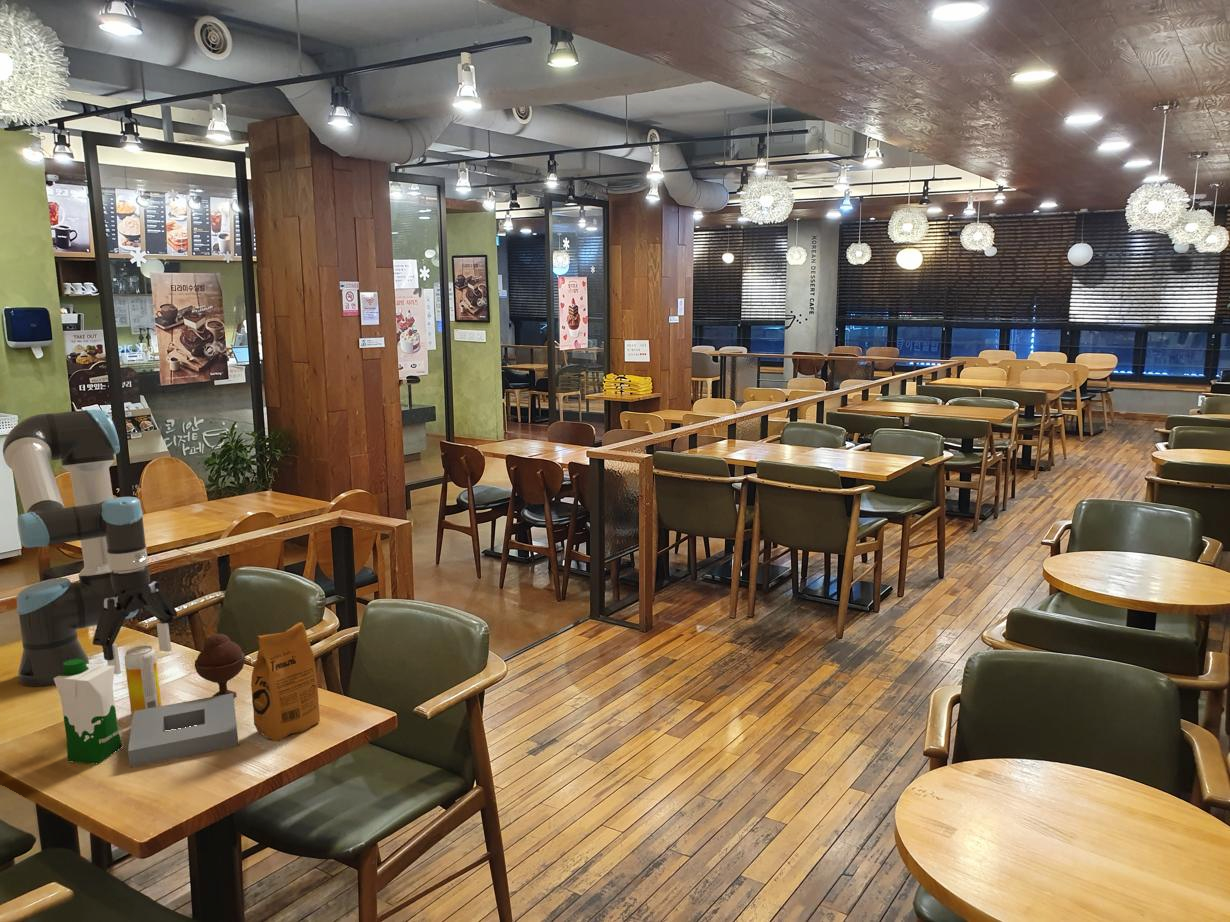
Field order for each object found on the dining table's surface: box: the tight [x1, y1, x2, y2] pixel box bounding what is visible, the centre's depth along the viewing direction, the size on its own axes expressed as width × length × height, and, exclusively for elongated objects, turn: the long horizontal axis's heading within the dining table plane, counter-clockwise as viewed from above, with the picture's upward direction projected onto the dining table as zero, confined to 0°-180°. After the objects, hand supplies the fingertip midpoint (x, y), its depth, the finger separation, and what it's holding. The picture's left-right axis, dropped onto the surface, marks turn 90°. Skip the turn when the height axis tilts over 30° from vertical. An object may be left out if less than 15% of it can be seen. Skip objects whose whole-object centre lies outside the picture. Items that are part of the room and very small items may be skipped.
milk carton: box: [54, 658, 123, 765], centre depth 187 cm, size 9×9×20 cm
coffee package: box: [250, 622, 321, 742], centre depth 197 cm, size 10×12×22 cm
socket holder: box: [127, 693, 240, 768], centre depth 196 cm, size 20×20×4 cm
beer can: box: [123, 645, 163, 716], centre depth 206 cm, size 6×6×15 cm
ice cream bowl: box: [194, 633, 246, 699], centre depth 213 cm, size 11×11×15 cm
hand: (140, 661), depth 205 cm, fingers open, 13 cm apart
